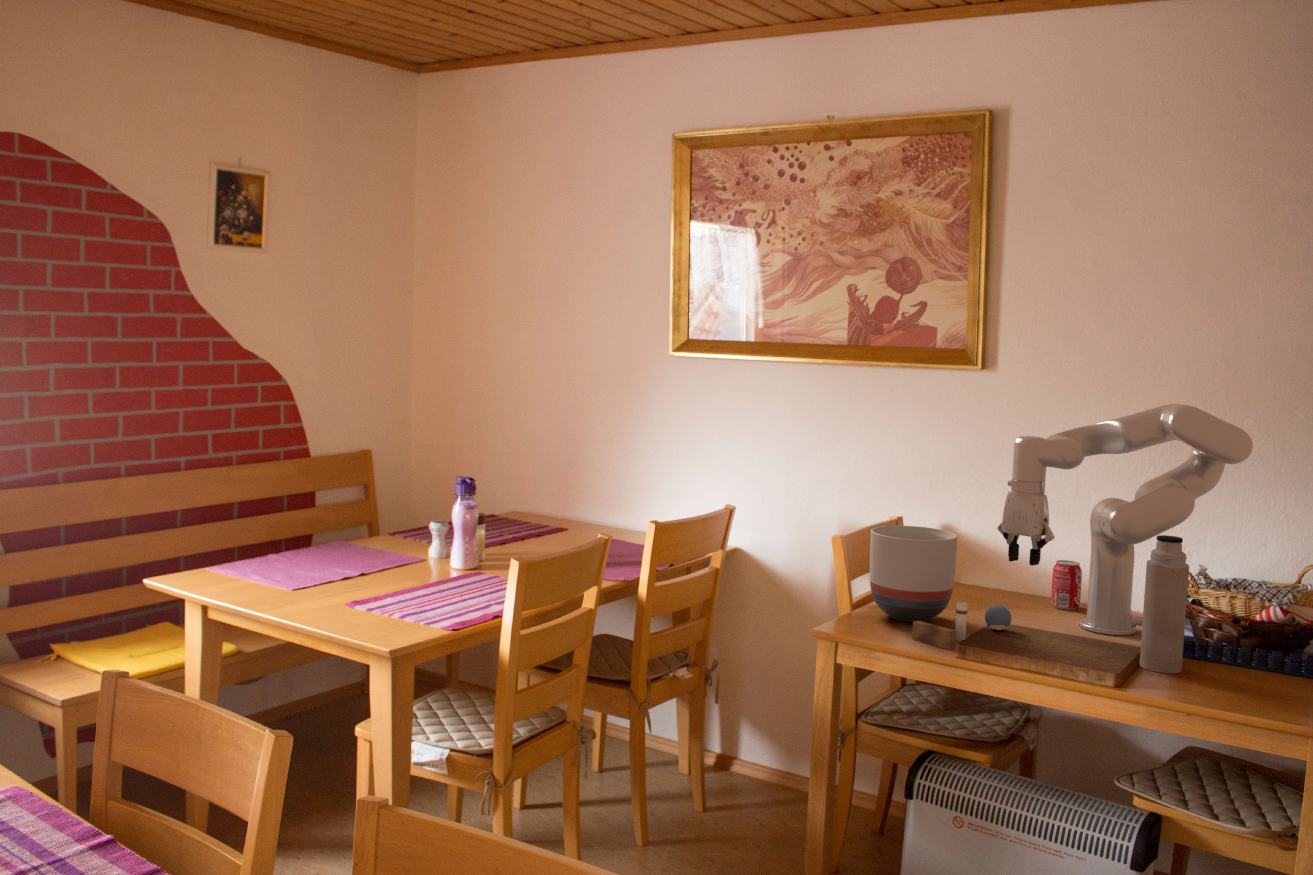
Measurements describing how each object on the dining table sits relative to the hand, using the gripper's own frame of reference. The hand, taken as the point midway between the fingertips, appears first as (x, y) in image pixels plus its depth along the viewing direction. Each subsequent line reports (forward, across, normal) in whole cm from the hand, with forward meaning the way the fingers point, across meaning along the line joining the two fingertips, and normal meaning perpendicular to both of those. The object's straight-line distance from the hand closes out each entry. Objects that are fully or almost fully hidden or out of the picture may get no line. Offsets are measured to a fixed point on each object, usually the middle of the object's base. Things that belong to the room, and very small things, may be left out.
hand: (1023, 561), depth 246 cm
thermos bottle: (+16, +37, -6) cm, 40 cm away
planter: (+16, -18, -19) cm, 31 cm away
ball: (+12, 0, -10) cm, 16 cm away
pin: (+15, 0, -24) cm, 29 cm away
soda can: (+16, -3, +26) cm, 31 cm away
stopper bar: (+15, -1, -32) cm, 36 cm away
